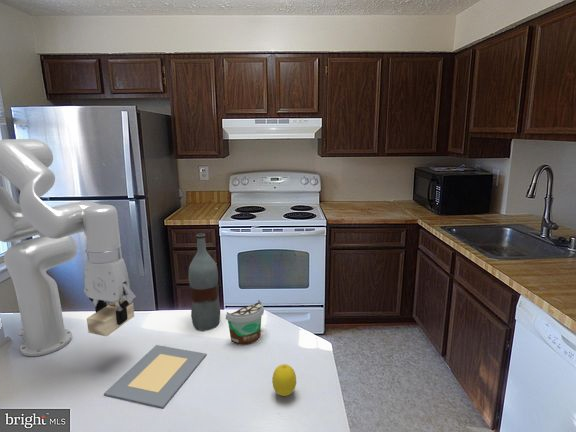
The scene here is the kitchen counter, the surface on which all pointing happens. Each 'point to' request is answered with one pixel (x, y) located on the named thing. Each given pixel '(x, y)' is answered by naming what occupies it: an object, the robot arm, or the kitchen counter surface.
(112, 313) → the birch block
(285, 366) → the lemon
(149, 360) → the mat
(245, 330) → the food container
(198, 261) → the bottle
